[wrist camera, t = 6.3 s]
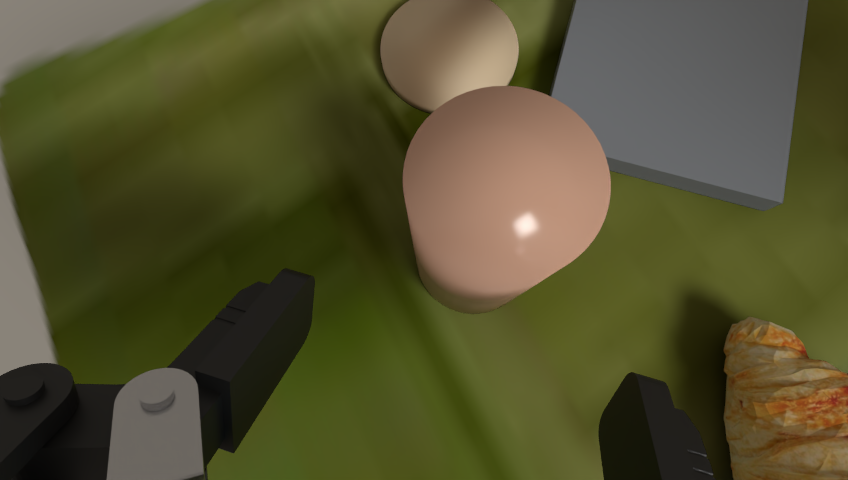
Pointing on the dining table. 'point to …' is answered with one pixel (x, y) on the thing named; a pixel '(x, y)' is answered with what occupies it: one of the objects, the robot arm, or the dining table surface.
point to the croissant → (782, 407)
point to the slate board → (688, 90)
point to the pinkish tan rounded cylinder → (501, 194)
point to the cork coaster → (447, 50)
